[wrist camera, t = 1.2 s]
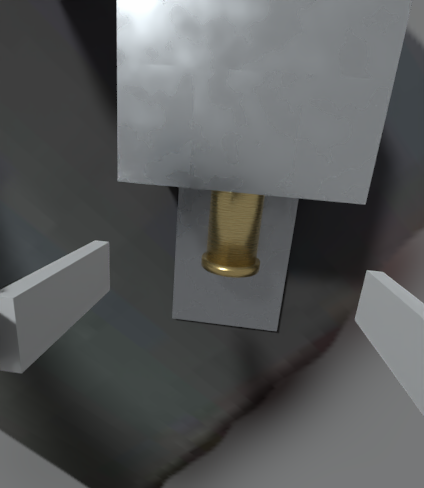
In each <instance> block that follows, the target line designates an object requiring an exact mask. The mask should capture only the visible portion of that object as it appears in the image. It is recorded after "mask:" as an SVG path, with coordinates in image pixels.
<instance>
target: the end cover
mask: <svg viewBox="0 0 424 488" xmlns="http://www.w3.org/2000/svg"><path fill="white" fill-rule="evenodd" d="M264 198H265V195H258V194H247V193H237V192H226V191H216V190H211V202H210V214H209V226H208V238H207V251H206V252H205V253H203V255H202V261H201V266H202V267H203V268H204V269H205V270H206V271H208V272H210V273H213V274H216V275H220V276H225V277H234V278H242V277H250V276H253V275H256V274H257V273H258V272H259V268H260V260H259V259H258V258H257V250H258V243H259V235H260V228H261V220H262V213H263V205H264Z"/></svg>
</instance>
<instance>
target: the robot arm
mask: <svg viewBox="0 0 424 488" xmlns="http://www.w3.org/2000/svg"><path fill="white" fill-rule="evenodd" d="M109 290H110V268H109V242H104V241H93V242H91V243H89V244H87V245H85V246H84V247H82V248H80V249H78V250H76V251H74V252H72V253H70V254H68V255H66V256H64V257H62V258H60V259H58V260H57V261H55V262H53V263H51V264H49V265H47V266H45V267H43V268H41V269H39V270H37V271H35V272H33V273H32V274H30V275H28V276H26V277H23V278H20V279H18V280H16V281H14V282H12V283H10V285H6V286H4V287H2V288H1V289H0V370H1V371H8V372H15V373H23V372H24V371H25V370H26V369H27V368H28V367H29V366H30V365H31V364H32V363H34V362H35V361H36V360H37V359H38V358H39V357H40V356H41V355H42V354H43V353H44V352H45V351H46V350H47V349H48V348H49V347H50V346H51V345H52V344H54V343H55V342H56V341H57V340H58V339H59V338H60V337H61V336H62V335H63V334H64V333H65V332H66V331H67V330H68V329H69V328H70V327H71V326H72V325H74V324H75V323H76V322H77V321H78V320H79V319H80V318H81V317H82V316H83V315H84V314H85V313H86V312H87V311H88V310H89V309H90V308H91V307H92V306H94V305H95V304H96V303H97V302H98V301H99V300H100V299H101V298H102V297H103V296H104V295H105V294H106V293H107V292H108V291H109ZM355 321H356V323H357V324H358V325H359V326H360V328H361V330H362V331H363V332H364V334H365V335H366V336H367V338H368V339H369V340H370V342H371V343H372V345H373V346H374V348H375V349H376V350H377V352H378V353H379V355H380V356H381V357H382V359H383V360H384V362H385V363H386V364H387V366H388V367H389V369H390V370H391V371H392V373H393V374H394V376H395V377H396V378H397V380H398V381H399V382H400V384H401V385H402V387H403V388H404V390H405V391H406V392H407V394H408V395H409V397H410V398H411V399H412V401H413V402H414V403H415V405H416V406H417V407H418V409H419V411H420V412H421V413H422V415H423V416H424V303H422V302H421V301H420V300H418V299H417V298H416V297H415V296H413V295H412V294H411V293H409V292H408V291H407V290H405V289H404V288H403V287H402V286H400V285H399V284H397V282H395V281H394V280H393V279H391V278H390V277H389V276H387V275H386V274H385V273H384V272H378V271H369V270H367V271H366V275H365V280H364V284H363V288H362V292H361V296H360V300H359V304H358V308H357V312H356V316H355Z"/></svg>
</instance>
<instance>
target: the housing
mask: <svg viewBox="0 0 424 488" xmlns="http://www.w3.org/2000/svg"><path fill="white" fill-rule="evenodd" d="M412 1H413V0H117V140H118V181H120V182H131V183H141V184H152V185H162V186H173V187H179V195H178V215H177V234H176V254H175V274H174V293H173V313H172V318H175V319H182V320H190V321H198V322H206V323H214V324H222V325H230V326H238V327H245V328H253V329H261V330H269V331H277V327H278V321H279V315H280V309H281V303H282V297H283V291H284V285H285V279H286V273H287V267H288V261H289V255H290V249H291V243H292V237H293V231H294V225H295V218H296V212H297V206H298V200H299V198H300V199H311V200H322V201H332V202H343V203H354V204H364V205H366V200H367V196H368V192H369V187H370V183H371V179H372V174H373V170H374V166H375V161H376V157H377V153H378V148H379V144H380V140H381V135H382V131H383V127H384V122H385V118H386V114H387V109H388V105H389V101H390V96H391V92H392V88H393V83H394V79H395V75H396V70H397V66H398V62H399V57H400V53H401V49H402V44H403V40H404V36H405V31H406V27H407V23H408V18H409V14H410V10H411V5H412ZM211 190H216V191H226V192H237V193H247V194H258V195H265V198H264V205H263V213H262V220H261V228H260V235H259V243H258V250H257V258H258V259H259V260H260V268H259V272H258V273H257V274H256V275H253V276H250V277H242V278H234V277H225V276H220V275H216V274H213V273H210V272H208V271H206V270H205V269H204V268H203V267H202V266H201V261H202V255H203V253H205V252H206V251H207V238H208V226H209V214H210V202H211Z"/></svg>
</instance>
